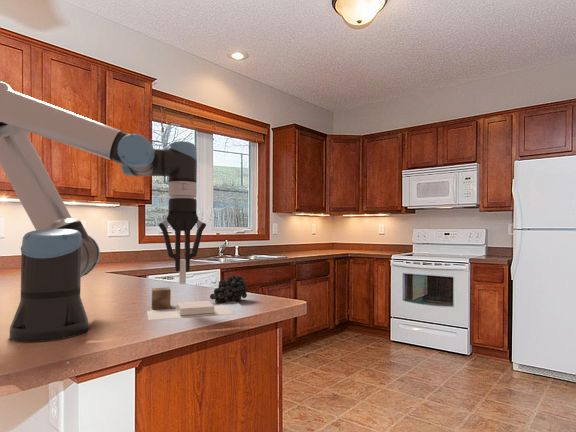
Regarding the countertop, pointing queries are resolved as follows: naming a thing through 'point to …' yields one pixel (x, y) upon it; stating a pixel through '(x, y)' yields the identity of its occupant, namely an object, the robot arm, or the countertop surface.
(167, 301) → the walnut block
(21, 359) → the countertop surface
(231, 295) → the fruit
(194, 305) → the tile
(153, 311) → the mat
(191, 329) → the countertop surface
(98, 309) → the countertop surface
